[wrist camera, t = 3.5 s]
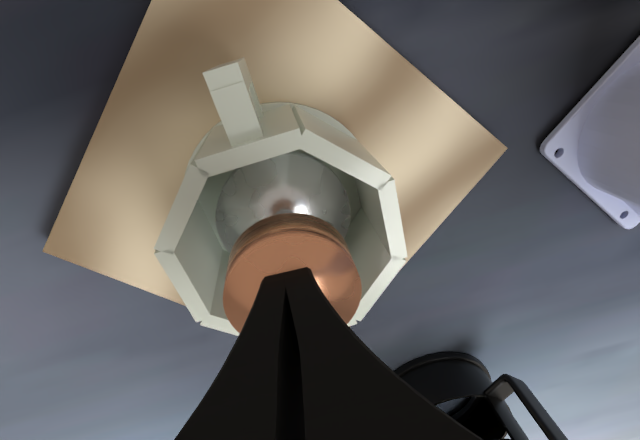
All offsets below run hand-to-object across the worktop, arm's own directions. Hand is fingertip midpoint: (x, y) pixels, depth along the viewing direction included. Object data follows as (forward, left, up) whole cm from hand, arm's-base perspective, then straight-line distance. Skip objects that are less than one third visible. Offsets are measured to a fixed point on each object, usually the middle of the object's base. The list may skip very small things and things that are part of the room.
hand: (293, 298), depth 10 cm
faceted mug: (0, 0, -7) cm, 7 cm away
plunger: (0, 0, -6) cm, 6 cm away
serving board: (0, 0, -8) cm, 8 cm away
